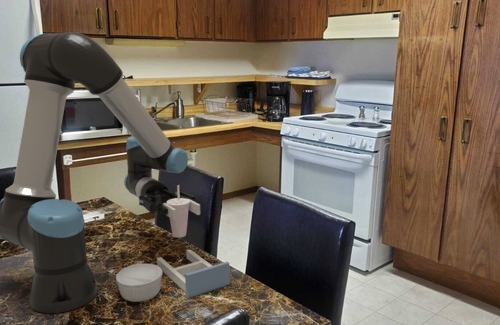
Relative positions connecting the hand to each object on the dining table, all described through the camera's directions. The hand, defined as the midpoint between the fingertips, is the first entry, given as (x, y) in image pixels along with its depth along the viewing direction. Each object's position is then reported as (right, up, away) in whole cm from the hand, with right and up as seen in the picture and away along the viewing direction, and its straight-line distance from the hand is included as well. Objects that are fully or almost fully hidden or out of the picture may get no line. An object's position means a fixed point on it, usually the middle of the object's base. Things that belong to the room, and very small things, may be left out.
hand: (187, 212), depth 113 cm
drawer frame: (0, -17, +3) cm, 18 cm away
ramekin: (-11, -20, -5) cm, 23 cm away
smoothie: (-3, -7, +6) cm, 10 cm away
